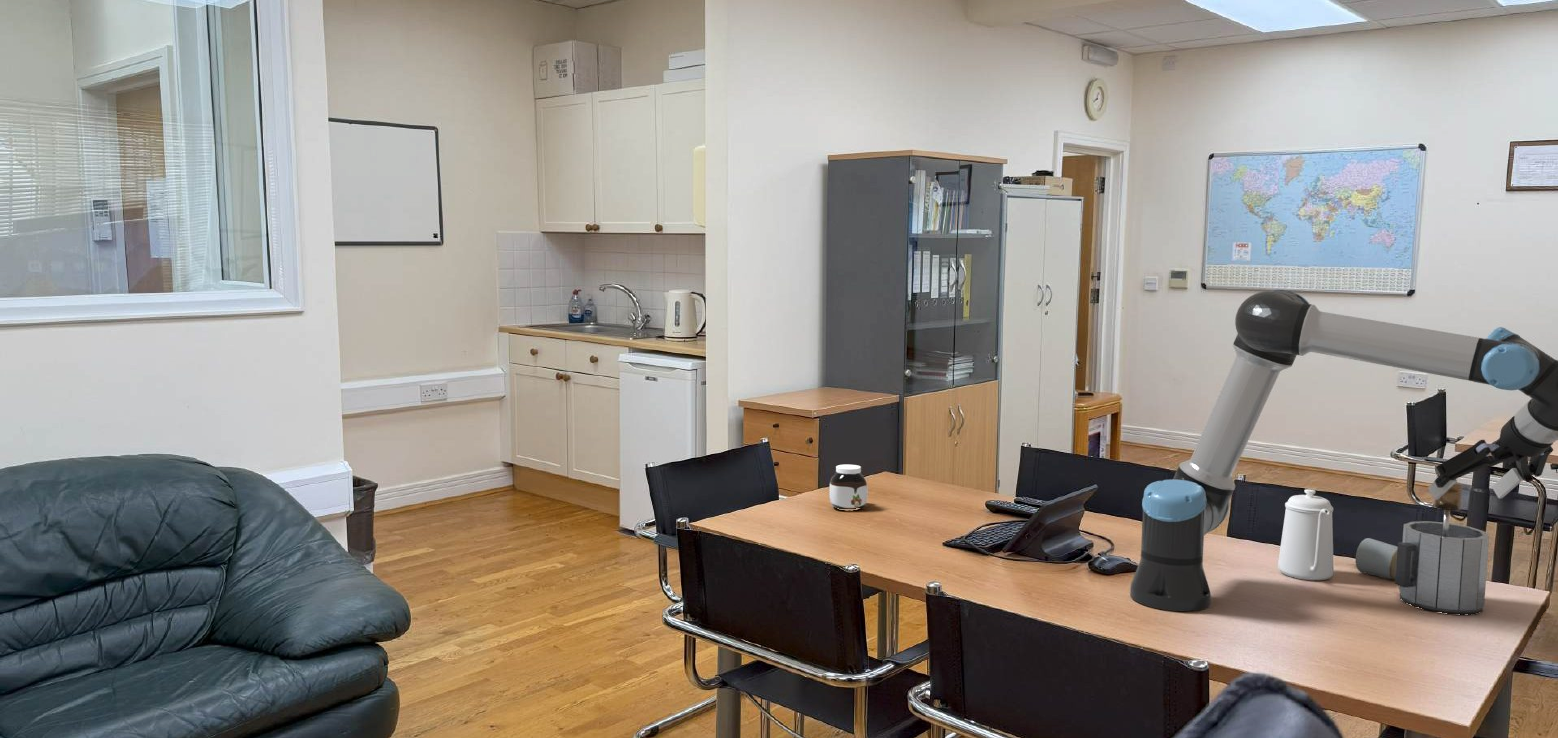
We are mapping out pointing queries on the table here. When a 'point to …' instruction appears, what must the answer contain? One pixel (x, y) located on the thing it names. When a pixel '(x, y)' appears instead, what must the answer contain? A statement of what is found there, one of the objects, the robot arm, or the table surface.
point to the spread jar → (848, 487)
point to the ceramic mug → (1377, 558)
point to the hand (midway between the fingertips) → (1464, 493)
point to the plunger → (1449, 504)
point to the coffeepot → (1307, 538)
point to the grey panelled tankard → (1442, 567)
